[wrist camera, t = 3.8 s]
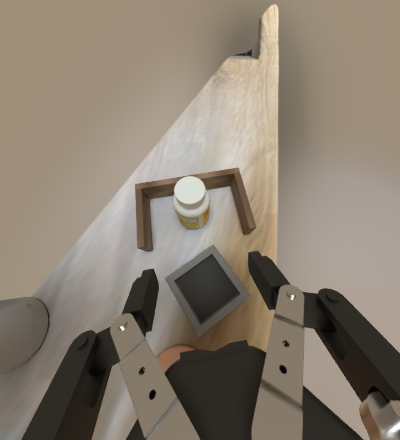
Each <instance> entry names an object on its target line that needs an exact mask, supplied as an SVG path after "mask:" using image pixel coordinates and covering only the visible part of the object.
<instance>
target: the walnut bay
mask: <svg viewBox="0 0 400 440" xmlns="http://www.w3.org/2000/svg"><path fill="white" fill-rule="evenodd" d="M190 176H193V177H196V178H198V179H200V180H201V181H202V182H203V183H204V185H205V189H206V190H208V189H214V188H220V187H226V186H231V190H232V193H233V197H234V201H235V204H236V208H237V212H238V216H239V219H240V223H241V227H242V231H243V234H244V235H246V234H250V233H251V232H252V231H253V230H254V229H255V228H256V225H255V221H254V218H253V215H252V211H251V208H250V205H249V201H248V198H247V195H246V191H245V188H244V185H243V181H242V178H241V175H240V171H239V168H233V169H227V170H221V171H214V172H208V173H202V174H196V175H190ZM184 177H188V176H183V177H177V178H171V179H165V180H158V181H152V182H146V183H140V184H135V191H136V219H137V246H138V248H139V249H142V250H144V251H153V246H152V231H151V216H150V202H149V199H153V198H159V197H165V196H171V195H174V188H175V185H176V183H177V182H178V181H179V180H180V179H182V178H184Z"/></svg>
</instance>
